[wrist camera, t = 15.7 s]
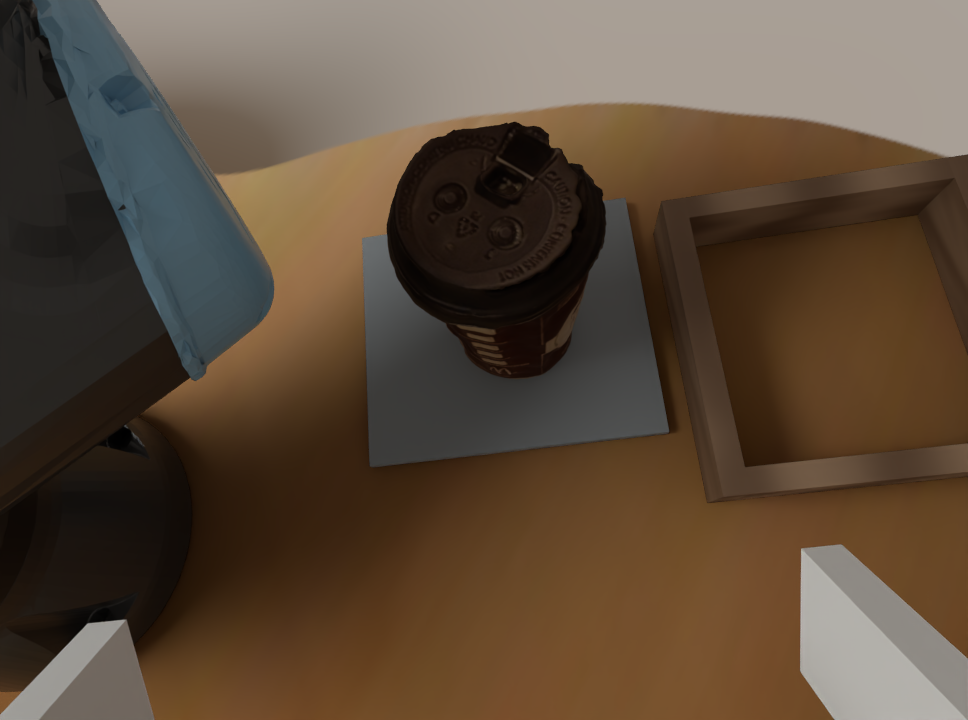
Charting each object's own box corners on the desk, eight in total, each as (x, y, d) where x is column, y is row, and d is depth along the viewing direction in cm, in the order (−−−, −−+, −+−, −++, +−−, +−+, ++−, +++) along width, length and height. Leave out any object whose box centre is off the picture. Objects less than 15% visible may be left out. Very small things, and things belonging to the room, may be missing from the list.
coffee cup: (574, 242, 36) (574, 78, 23) (616, 375, 33) (641, 268, 21) (430, 281, 36) (356, 141, 24) (460, 415, 33) (393, 335, 21)
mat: (373, 467, 34) (369, 465, 33) (365, 242, 38) (362, 238, 38) (667, 433, 32) (669, 431, 32) (624, 203, 37) (625, 197, 36)
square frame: (707, 502, 31) (723, 497, 28) (653, 233, 36) (661, 201, 32) (1037, 469, 29) (1095, 458, 26) (933, 192, 34) (972, 153, 31)
